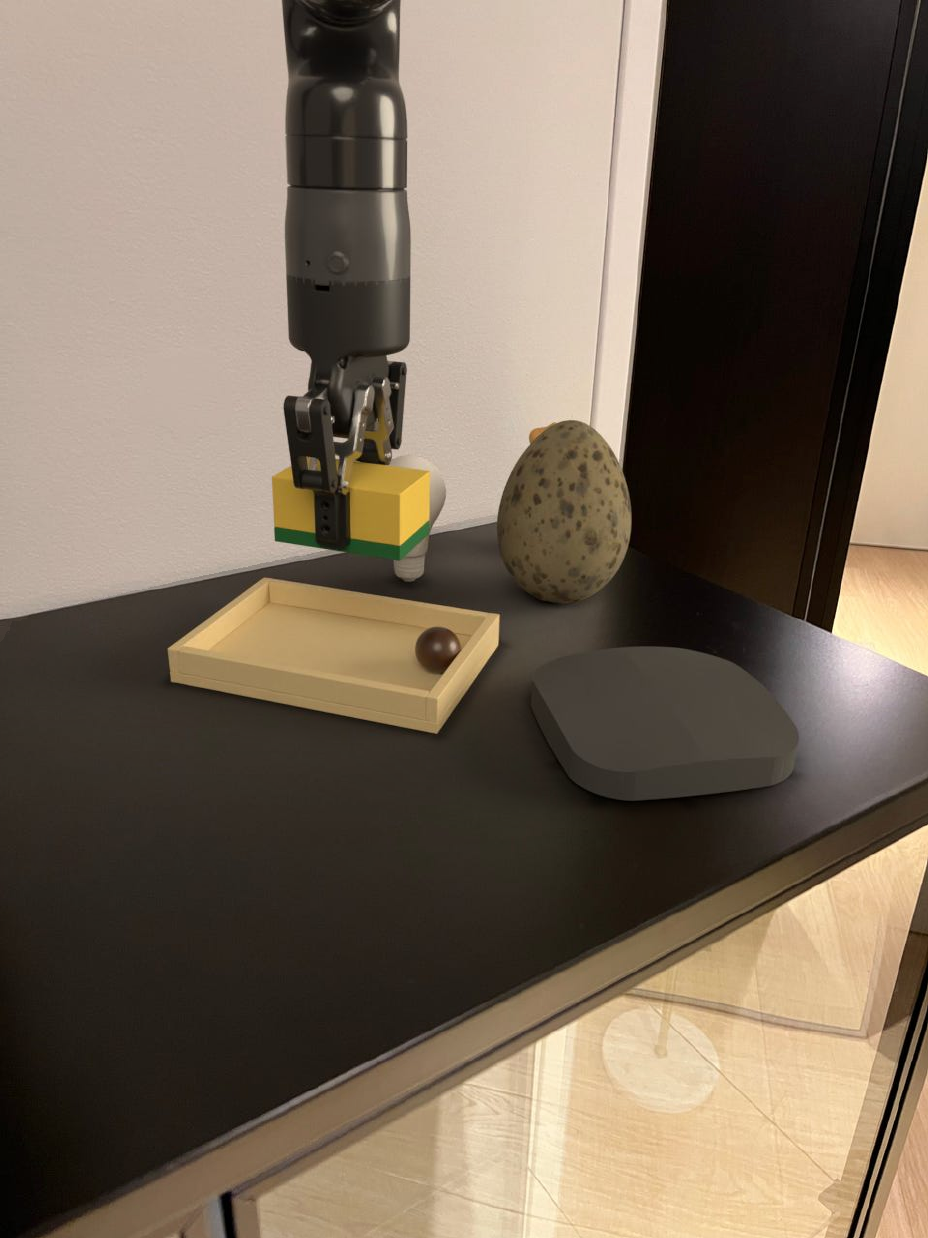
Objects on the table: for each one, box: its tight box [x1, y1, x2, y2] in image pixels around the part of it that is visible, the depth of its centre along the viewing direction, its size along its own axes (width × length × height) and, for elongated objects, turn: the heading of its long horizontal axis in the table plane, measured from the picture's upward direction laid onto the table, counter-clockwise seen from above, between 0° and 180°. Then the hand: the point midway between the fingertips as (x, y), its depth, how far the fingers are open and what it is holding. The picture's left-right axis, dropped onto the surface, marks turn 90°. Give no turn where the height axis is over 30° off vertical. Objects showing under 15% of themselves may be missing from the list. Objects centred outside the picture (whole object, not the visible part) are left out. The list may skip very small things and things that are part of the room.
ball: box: [415, 627, 461, 673], centre depth 70 cm, size 3×3×3 cm
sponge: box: [271, 457, 430, 561], centre depth 68 cm, size 9×6×4 cm, turn 72°
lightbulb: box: [387, 454, 447, 583], centre depth 85 cm, size 6×6×11 cm
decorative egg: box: [496, 419, 632, 605], centre depth 82 cm, size 11×11×15 cm
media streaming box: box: [530, 645, 800, 802], centre depth 65 cm, size 15×15×3 cm
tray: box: [167, 577, 500, 735], centre depth 73 cm, size 20×14×3 cm
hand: (352, 530), depth 69 cm, fingers closed on sponge, 5 cm apart
